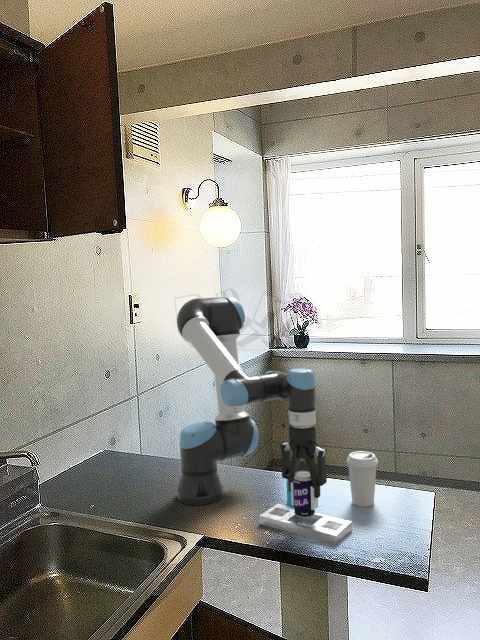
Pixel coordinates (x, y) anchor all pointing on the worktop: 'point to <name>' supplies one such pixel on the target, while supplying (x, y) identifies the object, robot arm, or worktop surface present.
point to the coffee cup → (362, 477)
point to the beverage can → (303, 494)
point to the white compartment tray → (321, 530)
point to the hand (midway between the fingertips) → (304, 505)
